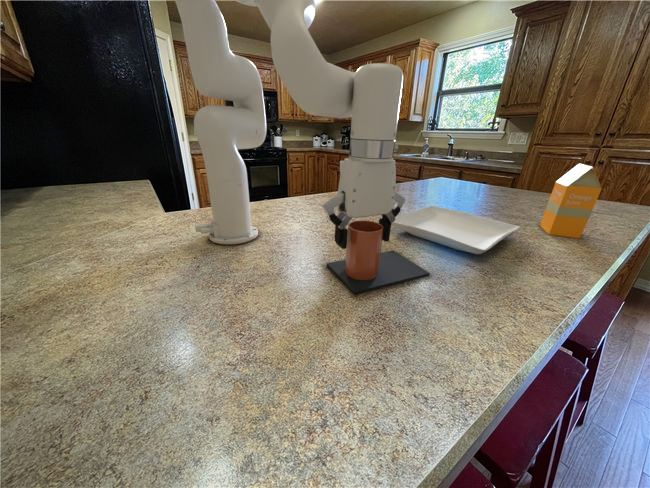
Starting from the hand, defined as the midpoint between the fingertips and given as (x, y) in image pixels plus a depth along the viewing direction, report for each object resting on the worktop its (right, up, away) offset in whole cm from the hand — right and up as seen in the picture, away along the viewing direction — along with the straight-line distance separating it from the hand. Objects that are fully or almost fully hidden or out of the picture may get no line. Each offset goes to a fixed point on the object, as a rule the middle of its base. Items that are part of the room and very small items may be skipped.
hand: (362, 242), depth 53 cm
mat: (+4, -6, +4) cm, 8 cm away
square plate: (+29, +2, +26) cm, 39 cm away
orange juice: (+65, +3, +30) cm, 71 cm away
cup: (0, -6, +2) cm, 7 cm away
